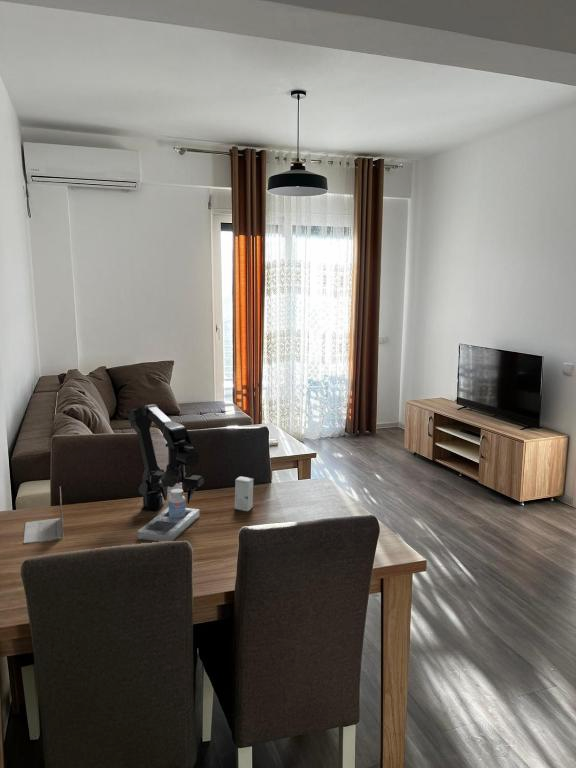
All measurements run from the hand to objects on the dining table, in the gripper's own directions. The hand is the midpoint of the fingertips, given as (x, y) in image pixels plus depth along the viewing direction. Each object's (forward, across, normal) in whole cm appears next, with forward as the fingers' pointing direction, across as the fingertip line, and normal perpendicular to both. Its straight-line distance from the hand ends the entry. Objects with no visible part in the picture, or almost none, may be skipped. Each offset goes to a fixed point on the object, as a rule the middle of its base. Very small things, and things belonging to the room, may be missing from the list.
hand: (177, 501), depth 212 cm
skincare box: (+8, +19, +19) cm, 28 cm away
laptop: (+8, -41, -21) cm, 47 cm away
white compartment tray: (+8, 0, -6) cm, 10 cm away
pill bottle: (+7, 0, 0) cm, 7 cm away
